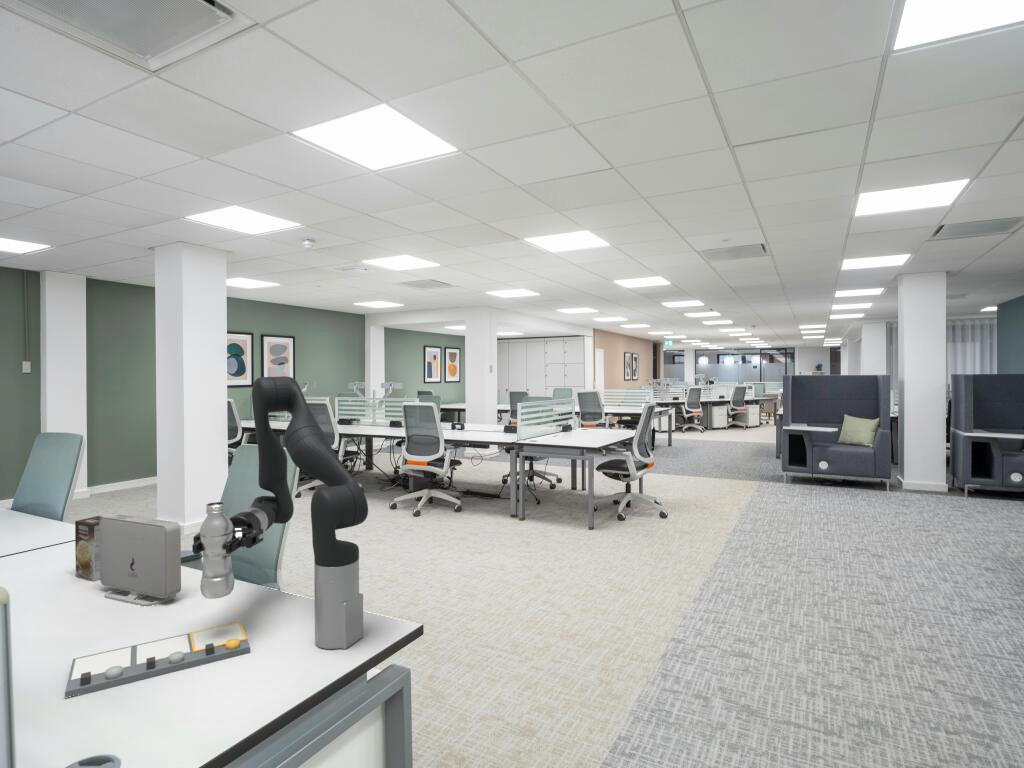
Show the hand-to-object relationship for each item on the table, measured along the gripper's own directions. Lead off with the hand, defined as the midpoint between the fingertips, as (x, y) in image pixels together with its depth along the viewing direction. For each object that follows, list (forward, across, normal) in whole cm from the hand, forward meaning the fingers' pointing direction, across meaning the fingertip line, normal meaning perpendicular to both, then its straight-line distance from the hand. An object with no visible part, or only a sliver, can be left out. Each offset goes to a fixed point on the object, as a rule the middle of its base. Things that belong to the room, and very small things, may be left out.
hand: (211, 549), depth 118 cm
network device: (-29, -32, +22) cm, 49 cm away
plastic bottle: (-3, 0, +11) cm, 11 cm away
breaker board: (+4, -8, +21) cm, 23 cm away
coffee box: (-45, -54, +22) cm, 74 cm away
